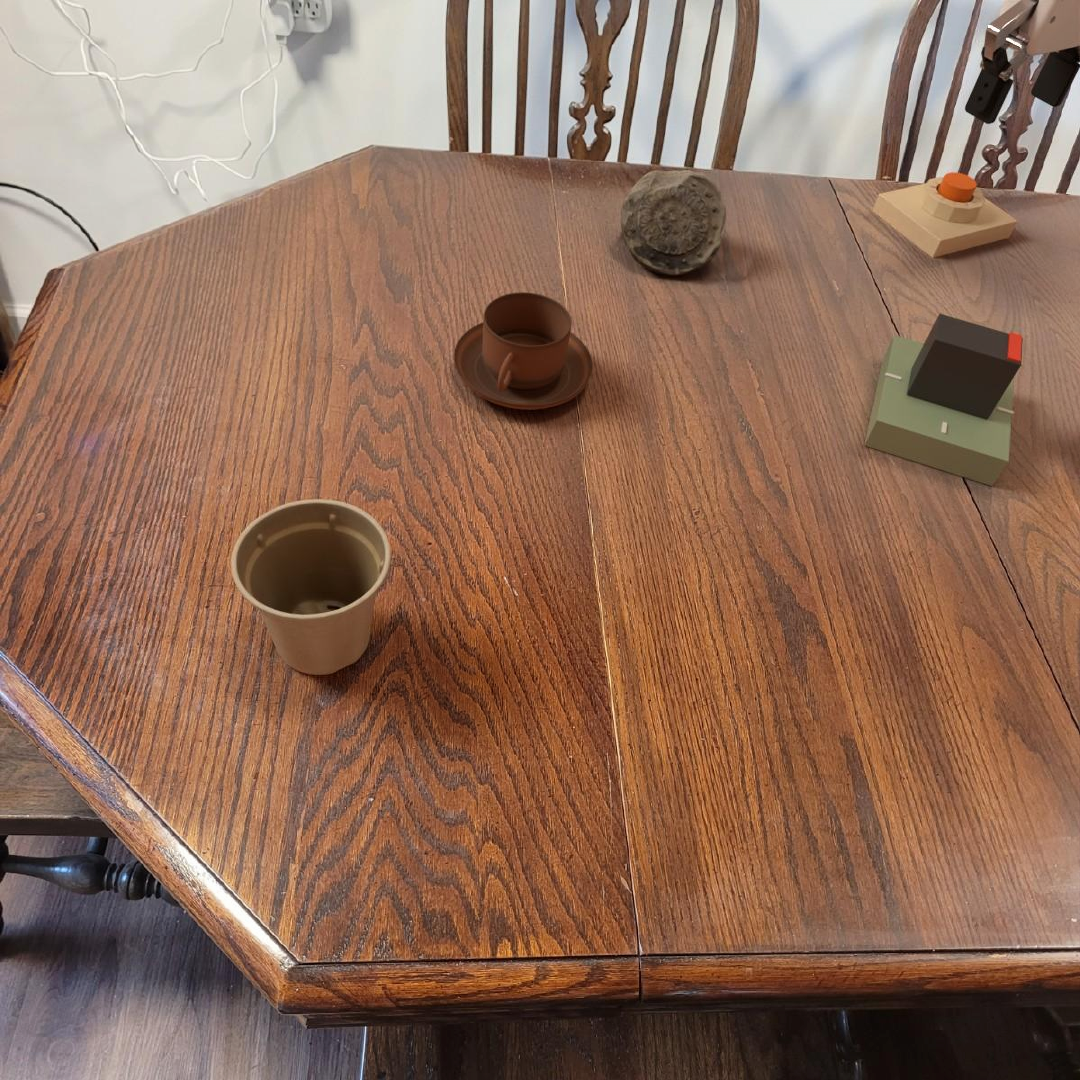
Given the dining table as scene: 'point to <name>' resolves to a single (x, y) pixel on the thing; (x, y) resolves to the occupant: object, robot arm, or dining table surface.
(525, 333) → the cup and saucer
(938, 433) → the stand
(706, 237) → the fossil
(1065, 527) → the dining table surface
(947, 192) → the button
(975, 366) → the black block
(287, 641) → the flower pot
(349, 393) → the dining table surface
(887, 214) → the box
